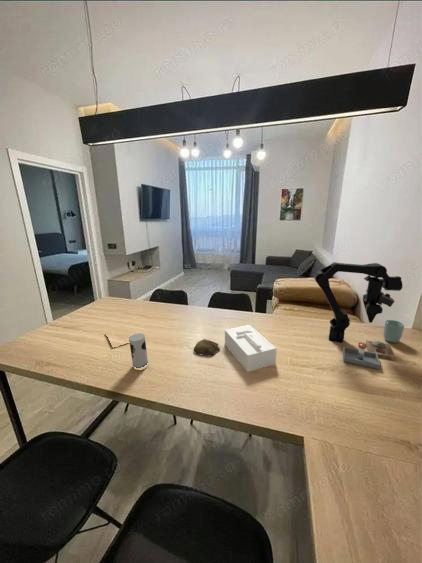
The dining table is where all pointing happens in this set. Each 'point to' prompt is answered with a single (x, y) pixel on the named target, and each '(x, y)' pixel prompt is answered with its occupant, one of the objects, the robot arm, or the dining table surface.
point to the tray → (368, 360)
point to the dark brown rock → (206, 347)
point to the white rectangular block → (250, 347)
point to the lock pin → (361, 351)
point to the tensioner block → (380, 349)
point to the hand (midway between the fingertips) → (369, 318)
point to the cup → (393, 330)
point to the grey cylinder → (138, 350)
